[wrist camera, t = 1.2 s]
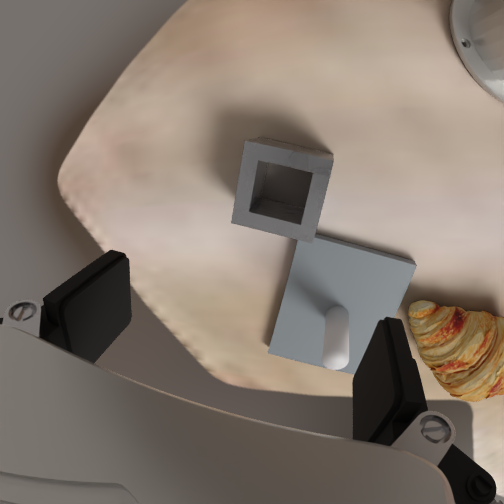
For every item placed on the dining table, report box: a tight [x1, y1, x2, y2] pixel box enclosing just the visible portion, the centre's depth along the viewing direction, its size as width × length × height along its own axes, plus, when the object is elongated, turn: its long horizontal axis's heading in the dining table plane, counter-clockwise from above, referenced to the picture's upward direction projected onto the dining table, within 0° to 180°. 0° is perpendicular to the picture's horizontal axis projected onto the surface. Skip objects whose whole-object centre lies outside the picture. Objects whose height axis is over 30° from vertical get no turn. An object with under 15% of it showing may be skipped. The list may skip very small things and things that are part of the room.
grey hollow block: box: [231, 137, 334, 244], centre depth 25 cm, size 6×6×4 cm
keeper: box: [268, 234, 417, 375], centre depth 28 cm, size 14×11×8 cm
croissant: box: [408, 300, 504, 402], centre depth 27 cm, size 21×10×8 cm, turn 62°
